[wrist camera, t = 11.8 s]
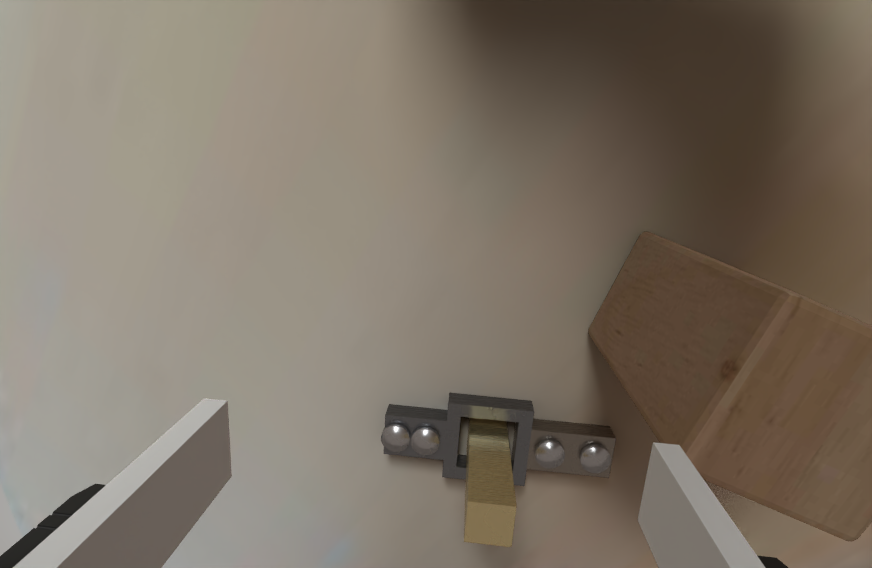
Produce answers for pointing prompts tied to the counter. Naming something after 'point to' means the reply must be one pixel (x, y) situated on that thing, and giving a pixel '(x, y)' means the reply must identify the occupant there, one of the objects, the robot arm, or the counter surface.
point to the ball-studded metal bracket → (532, 444)
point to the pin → (489, 484)
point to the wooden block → (746, 381)
